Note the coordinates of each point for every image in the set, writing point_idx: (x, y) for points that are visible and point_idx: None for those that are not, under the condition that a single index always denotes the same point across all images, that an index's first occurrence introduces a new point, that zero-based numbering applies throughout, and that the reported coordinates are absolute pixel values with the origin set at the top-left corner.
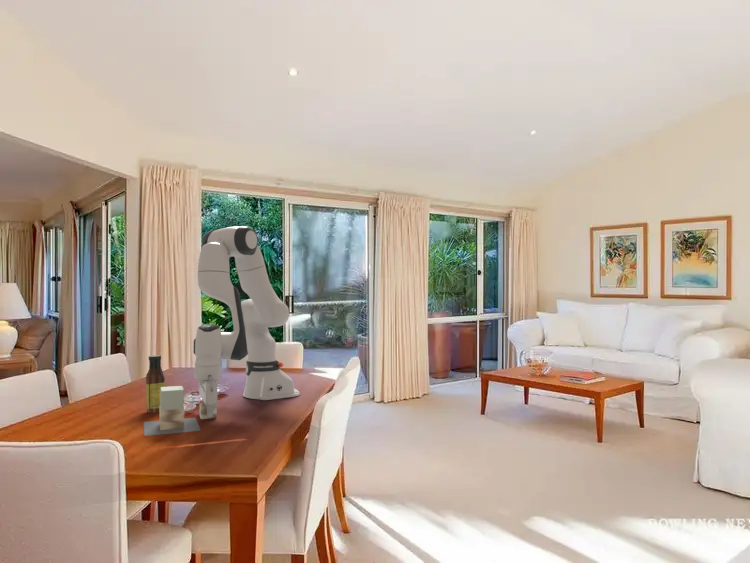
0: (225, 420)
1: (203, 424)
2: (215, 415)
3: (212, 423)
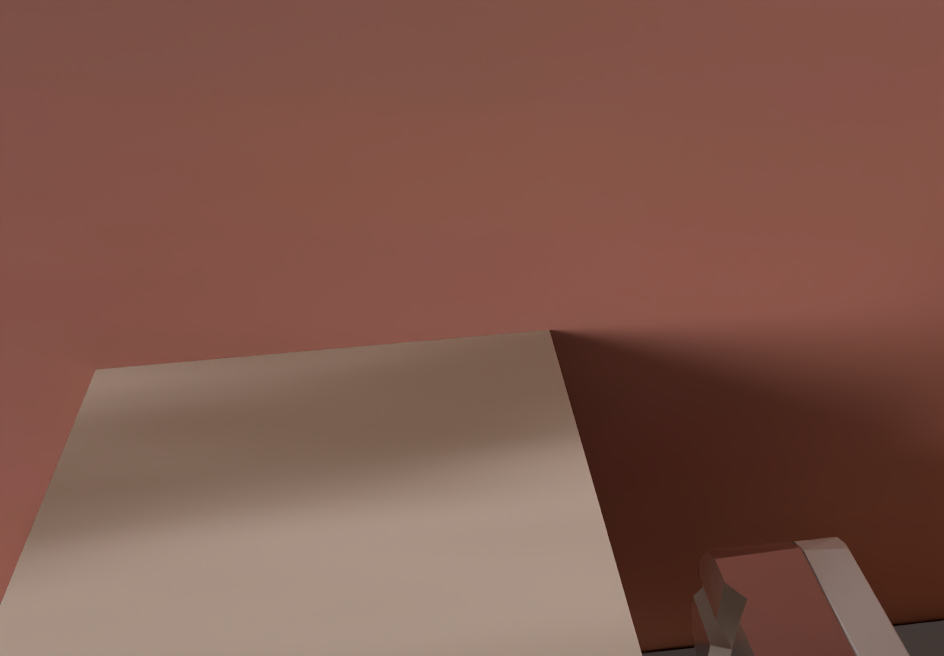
0: (779, 87)
1: None
2: (575, 439)
3: (888, 415)
